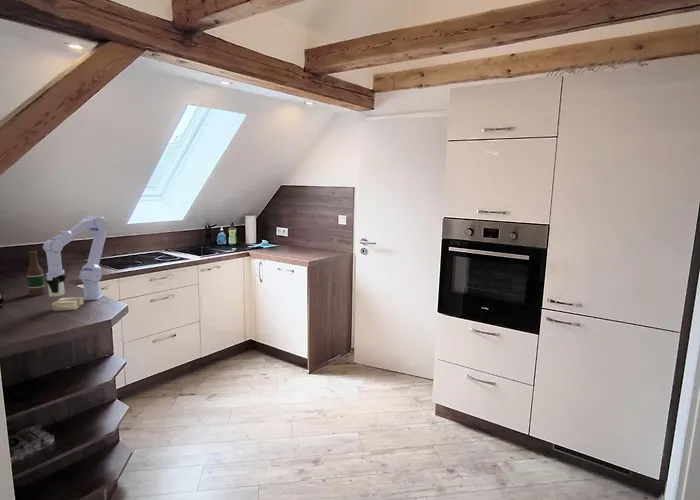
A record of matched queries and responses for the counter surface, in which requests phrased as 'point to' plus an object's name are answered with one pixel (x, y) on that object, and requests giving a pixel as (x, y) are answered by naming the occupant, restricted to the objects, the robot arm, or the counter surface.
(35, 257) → the beer bottle
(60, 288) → the sage block
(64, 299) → the birch base
